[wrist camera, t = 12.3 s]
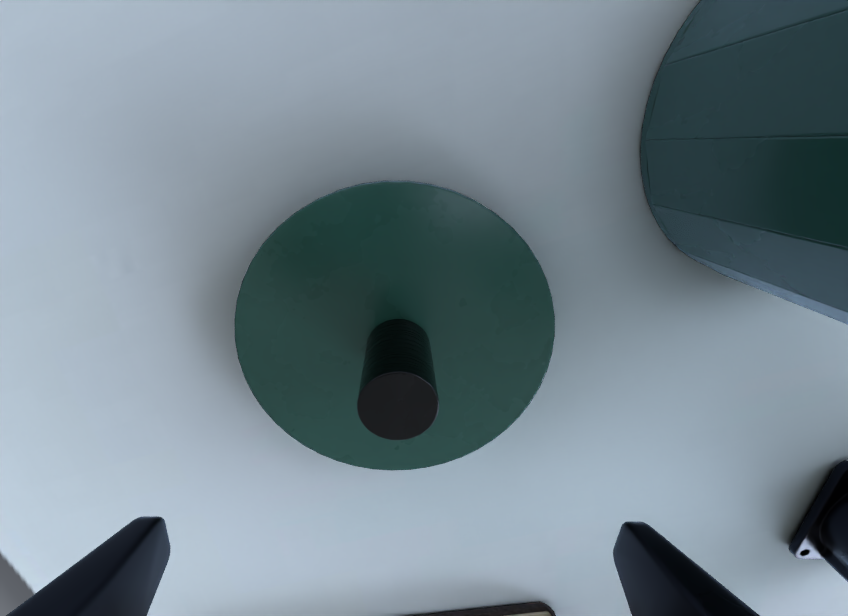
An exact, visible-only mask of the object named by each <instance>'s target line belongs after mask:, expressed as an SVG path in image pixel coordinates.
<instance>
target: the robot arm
mask: <svg viewBox="0 0 848 616" xmlns="http://www.w3.org/2000/svg"><path fill="white" fill-rule="evenodd" d="M789 550H790V551H791V553H792V554H793V555H794V556H795V557H796V558H798V559H825V560H826V561H827V562H828V563H829V564H830V565H831V566H832V567H833V568H834V569H835V570H836V571H837V572H838V573H839V574H840V575H841V576H842V577H843V578H844V579H845V580H846V581H847V582H848V461H843V462H841V463H839V464H838V465H837V466H836V467H835V468H834V470H833V472H832V473H831V475H830V477H829V479H828V480H827V482H826V484H825V486H824V487H823V489H822V491H821V492H820V494H819V496H818V498H817V499H816V501H815V503H814V505H813V506H812V508H811V510H810V511H809V513H808V515H807V517H806V518H805V520H804V522H803V523H802V525H801V527H800V529H799V530H798V532H797V534H796V536H795V537H794V539H793V541H792V542H791V544H790V546H789ZM169 556H170V543H169V538H168V534H167V529H166V524H165V521H164V519H163V518H162V517H139V518H137V519H135V520H133V521H132V522H130V523H129V524H128V525H126V526H125V527H124V528H122V529H121V530H120V531H118V532H117V533H116V534H114V535H113V536H112V537H110V538H109V539H108V540H106V541H105V542H104V543H102V544H101V545H100V546H98V547H97V548H96V549H94V550H93V551H92V552H90V553H89V554H88V555H86V556H85V557H84V558H82V559H81V560H80V561H78V562H77V563H76V564H74V565H73V566H72V567H70V568H69V569H68V570H66V571H65V572H64V573H62V574H61V575H60V576H58V577H57V578H56V579H54V580H53V581H52V582H50V583H49V584H48V585H46V586H45V587H44V588H42V589H41V590H40V591H38V592H37V593H36V594H34V595H33V596H32V597H31V598H29V599H28V600H27V601H25V602H24V603H23V604H21V605H20V606H18V607H17V608H16V609H14V610H13V611H12V612H10V613H9V614H8V615H6V616H147V613H148V611H149V608H150V605H151V603H152V600H153V598H154V595H155V593H156V590H157V588H158V585H159V583H160V580H161V578H162V575H163V573H164V570H165V568H166V565H167V563H168V560H169ZM613 557H614V562H615V565H616V568H617V571H618V574H619V577H620V580H621V583H622V586H623V590H624V593H625V596H626V599H627V602H628V605H629V608H630V611H631V614H632V616H760V615H758V614H757V613H756V612H755V611H753V610H752V609H751V608H750V607H749V606H747V605H746V604H745V603H744V602H742V601H741V600H740V599H739V598H737V597H736V596H735V595H734V594H733V593H731V592H730V591H729V590H728V589H726V588H725V587H724V586H723V585H722V584H720V583H719V582H718V581H717V580H715V579H714V578H713V577H712V576H711V575H709V574H708V573H707V572H706V571H704V570H703V569H702V568H701V567H699V566H698V565H697V564H696V563H695V562H693V561H692V560H691V559H690V558H688V557H687V556H686V555H685V554H684V553H682V552H681V551H680V550H679V549H677V548H676V547H675V546H674V545H673V544H671V543H670V542H669V541H668V540H666V539H665V538H664V537H663V536H662V535H660V534H659V533H658V532H657V531H655V530H654V529H653V528H652V527H650V526H649V525H648V524H646V523H644V522H625V523H624V524H623V525H622V526H621V529H620V532H619V535H618V538H617V541H616V543H615V546H614V550H613Z"/></svg>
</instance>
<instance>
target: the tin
mask: <svg viewBox="0 0 848 616" xmlns="http://www.w3.org/2000/svg"><path fill="white" fill-rule="evenodd" d="M640 153H641V173H642V179H643V184H644V190H645V194H646V197H647V200H648V203H649V206H650V209H651V211H652V213H653V215H654V217H655V219H656V221H657V223H658V225H659V226H660V228H661V229H662V231H663V232H664V233H665V235H666V236H667V237H668V239H669V240H670V241H671V242H672V243H673V244H674V245H675V246H676V247H677V248H678V249H679V250H680V251H682V252H683V253H685V254H686V255H688V256H689V257H691V258H692V259H693V260H696V261H698V262H700V263H702V264H704V265H706V266H708V267H710V268H712V269H713V270H715V271H717V272H719V273H720V274H722V275H725V276H727V277H730V278H732V279H735V280H737V281H740V282H742V283H745V284H747V285H750V286H752V287H755V288H757V289H760V290H762V291H765V292H767V293H770V294H772V295H775V296H777V297H780V298H782V299H785V300H787V301H790V302H792V303H795V304H797V305H800V306H802V307H805V308H808V309H810V310H813V311H815V312H818V313H820V314H823V315H825V316H828V317H830V318H833V319H835V320H838V321H840V322H843V323H845V324H848V0H701V1H700V2H699V3H698V5H697V6H696V7H695V8H694V10H693V11H692V13H691V14H690V16H689V17H688V18H687V20H686V21H685V23H684V24H683V26H682V27H681V29H680V30H679V32H678V33H677V35H676V37H675V39H674V40H673V42H672V44H671V46H670V48H669V50H668V51H667V53H666V55H665V57H664V59H663V62H662V64H661V66H660V69H659V71H658V73H657V76H656V78H655V80H654V83H653V87H652V90H651V93H650V96H649V100H648V103H647V107H646V112H645V117H644V122H643V127H642V137H641V150H640Z"/></svg>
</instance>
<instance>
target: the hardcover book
mask: <svg viewBox="0 0 848 616" xmlns="http://www.w3.org/2000/svg"><path fill="white" fill-rule="evenodd" d="M417 616H556V615H555V613H554V611H553V610H552V609H551V608H550V607H549V606H548V605H546V604H545V603H542V602H535V603H526V604H517V605H508V606H499V607H490V608H481V609H471V610H462V611H453V612H444V613H435V614H426V615H417Z"/></svg>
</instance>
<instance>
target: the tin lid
mask: <svg viewBox="0 0 848 616" xmlns="http://www.w3.org/2000/svg"><path fill="white" fill-rule="evenodd" d="M554 336H555V316H554V309H553V302H552V296H551V293H550V289H549V286H548V283H547V279H546V277H545V275H544V273H543V271H542V268H541V266H540V264H539V262H538V260H537V259H536V257H535V256H534V254H533V253H532V251H531V249H530V248H529V246H528V245H527V243H526V242H525V241H524V240H523V239H522V238H521V237H520V236H519V234H518V233H517V232H516V231H515V230H514V229H513V228H512V227H511V226H510V225H509V224H508V223H506V222H505V221H504V220H503V219H502V218H500V217H499V216H498V215H497V214H496V213H494V212H493V211H491V210H490V209H488V208H486V207H485V206H483V205H482V204H480V203H478V202H477V201H475V200H473V199H471V198H469V197H467V196H465V195H462V194H460V193H458V192H456V191H453V190H450V189H446V188H443V187H439V186H436V185H433V184H427V183H420V182H413V181H378V182H370V183H362V184H358V185H355V186H351V187H347V188H344V189H340V190H337V191H335V192H333V193H330V194H328V195H326V196H323V197H321V198H319V199H317V200H315V201H314V202H312V203H310V204H309V205H307V206H305V207H304V208H302V209H300V210H299V211H297V212H296V213H294V214H293V215H292V216H291V217H290V218H288V219H287V220H286V221H285V222H283V223H282V224H281V225H280V226H279V227H278V228H277V229H276V230H275V231H274V232H273V233H272V234H271V235H270V236H269V238H268V239H267V240H266V241H265V242H264V243H263V244H262V246H261V247H260V249H259V251H258V252H257V254H256V255H255V257H254V258H253V260H252V261H251V263H250V265H249V268H248V270H247V272H246V274H245V276H244V279H243V281H242V284H241V288H240V291H239V295H238V298H237V304H236V312H235V342H236V348H237V353H238V359H239V362H240V365H241V368H242V371H243V374H244V377H245V379H246V381H247V383H248V385H249V387H250V389H251V391H252V393H253V395H254V396H255V398H256V399H257V400H258V402H259V403H260V405H261V406H262V408H263V409H264V410H265V411H266V413H267V414H268V415H269V416H270V417H271V418H272V419H273V421H274V422H275V423H276V424H277V425H279V426H280V427H281V428H282V429H283V430H284V431H285V432H286V433H288V434H289V435H290V436H291V437H293V438H294V439H296V440H297V441H299V442H300V443H302V444H303V445H304V446H306V447H308V448H310V449H312V450H314V451H316V452H317V453H319V454H321V455H324V456H326V457H329V458H331V459H334V460H336V461H339V462H343V463H346V464H350V465H353V466H358V467H364V468H370V469H379V470H411V469H418V468H426V467H430V466H435V465H439V464H443V463H446V462H449V461H452V460H455V459H458V458H460V457H463V456H465V455H467V454H469V453H471V452H473V451H475V450H477V449H479V448H481V447H482V446H484V445H485V444H487V443H489V442H490V441H492V440H493V439H495V438H496V437H497V436H498V435H500V434H501V433H502V432H504V431H505V430H506V429H507V428H508V427H509V426H510V425H511V424H512V423H513V422H514V421H515V420H516V419H517V418H518V417H519V416H520V415H521V414H522V412H523V411H524V410H525V409H526V407H527V406H528V405H529V404H530V402H531V401H532V399H533V397H534V396H535V394H536V392H537V391H538V389H539V388H540V385H541V383H542V381H543V379H544V376H545V374H546V372H547V369H548V365H549V362H550V358H551V355H552V349H553V342H554Z"/></svg>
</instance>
